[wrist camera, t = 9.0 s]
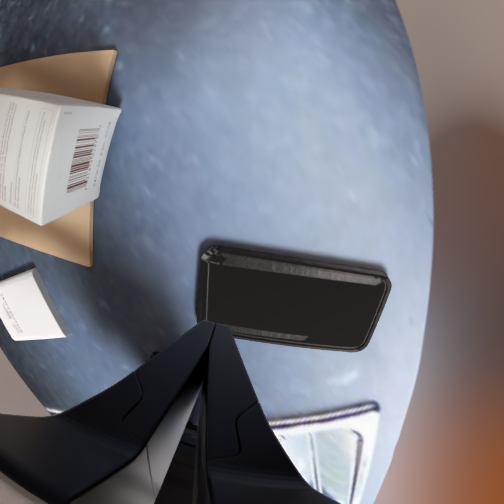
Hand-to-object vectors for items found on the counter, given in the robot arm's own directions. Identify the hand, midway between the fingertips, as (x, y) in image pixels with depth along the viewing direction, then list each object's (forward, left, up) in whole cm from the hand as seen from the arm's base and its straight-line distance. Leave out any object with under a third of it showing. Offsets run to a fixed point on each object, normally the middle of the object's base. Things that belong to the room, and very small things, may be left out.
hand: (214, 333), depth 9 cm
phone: (-6, -5, -14) cm, 16 cm away
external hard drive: (-16, +24, -14) cm, 32 cm away
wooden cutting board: (+2, +21, -13) cm, 25 cm away
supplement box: (+3, +11, -9) cm, 14 cm away
